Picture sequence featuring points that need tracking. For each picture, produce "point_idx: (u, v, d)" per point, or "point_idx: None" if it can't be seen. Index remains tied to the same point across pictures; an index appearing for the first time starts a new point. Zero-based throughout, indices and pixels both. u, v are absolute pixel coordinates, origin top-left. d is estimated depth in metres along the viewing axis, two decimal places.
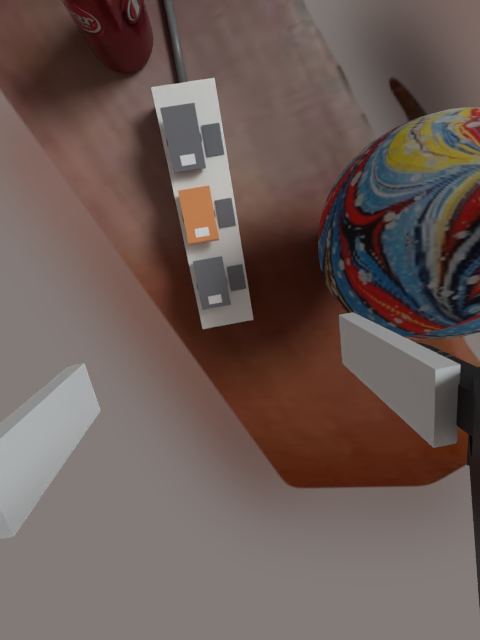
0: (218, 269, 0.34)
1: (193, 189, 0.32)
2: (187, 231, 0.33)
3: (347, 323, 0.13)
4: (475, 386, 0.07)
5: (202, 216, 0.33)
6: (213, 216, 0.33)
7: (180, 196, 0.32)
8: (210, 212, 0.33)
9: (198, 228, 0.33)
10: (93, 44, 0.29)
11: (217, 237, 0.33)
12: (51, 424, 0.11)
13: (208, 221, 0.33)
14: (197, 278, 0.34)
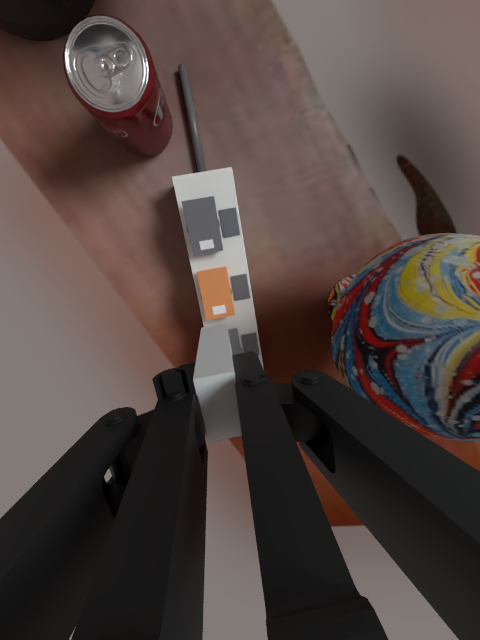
0: (233, 341, 0.36)
1: (211, 270, 0.34)
2: (205, 309, 0.34)
3: (214, 333, 0.15)
4: (237, 395, 0.09)
5: (219, 295, 0.34)
6: (230, 294, 0.34)
7: (199, 277, 0.34)
8: (227, 291, 0.34)
9: (215, 306, 0.34)
10: (118, 141, 0.31)
11: (233, 314, 0.35)
12: None
13: (225, 299, 0.34)
14: None
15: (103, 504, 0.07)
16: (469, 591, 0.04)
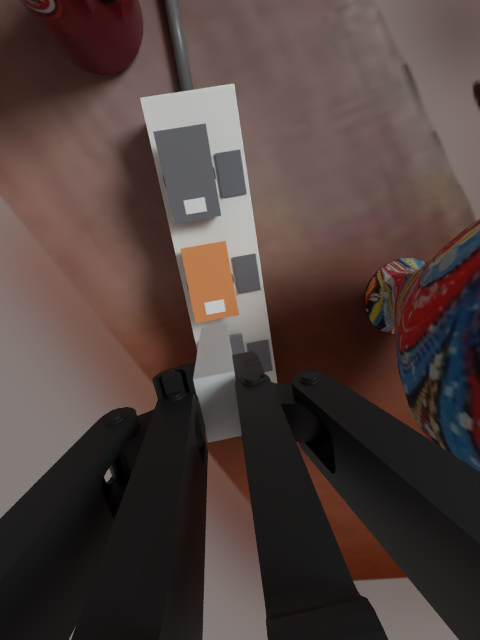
0: (236, 353, 0.25)
1: (202, 246, 0.22)
2: (194, 306, 0.23)
3: (214, 333, 0.15)
4: (237, 395, 0.09)
5: (215, 284, 0.23)
6: (231, 284, 0.23)
7: (184, 257, 0.22)
8: (227, 279, 0.23)
9: (209, 301, 0.23)
10: (49, 32, 0.19)
11: (236, 313, 0.23)
12: None
13: (224, 291, 0.23)
14: None
15: (103, 505, 0.07)
16: (469, 591, 0.04)
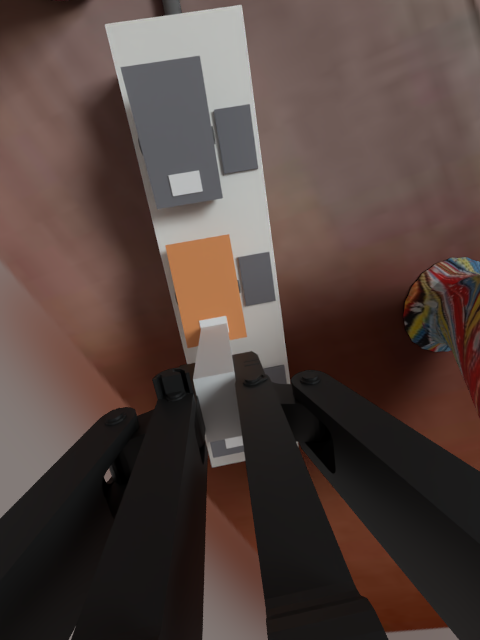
0: None
1: (196, 242, 0.16)
2: (185, 325, 0.16)
3: (214, 333, 0.15)
4: (237, 395, 0.09)
5: (215, 295, 0.16)
6: (237, 295, 0.16)
7: (170, 257, 0.16)
8: (231, 287, 0.16)
9: (207, 319, 0.16)
10: None
11: (244, 335, 0.17)
12: None
13: (226, 304, 0.16)
14: None
15: (103, 505, 0.07)
16: (469, 591, 0.04)
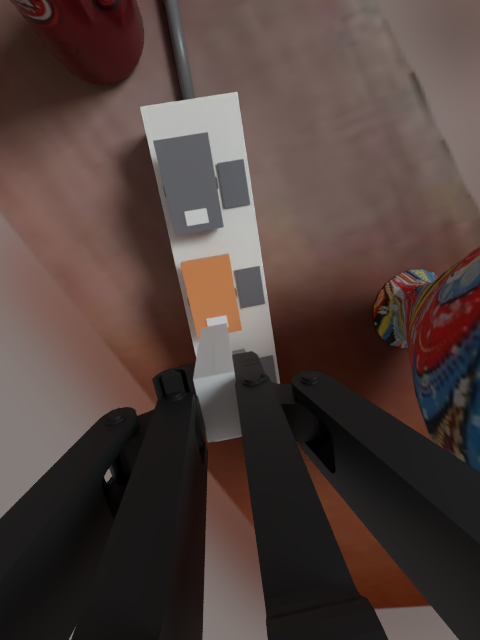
0: None
1: (204, 261, 0.21)
2: (196, 322, 0.22)
3: (214, 333, 0.15)
4: (237, 395, 0.09)
5: (218, 300, 0.22)
6: (234, 300, 0.22)
7: (184, 272, 0.21)
8: (230, 294, 0.22)
9: (212, 317, 0.22)
10: (47, 40, 0.18)
11: (239, 329, 0.22)
12: None
13: (226, 307, 0.22)
14: None
15: (102, 505, 0.07)
16: (469, 591, 0.04)
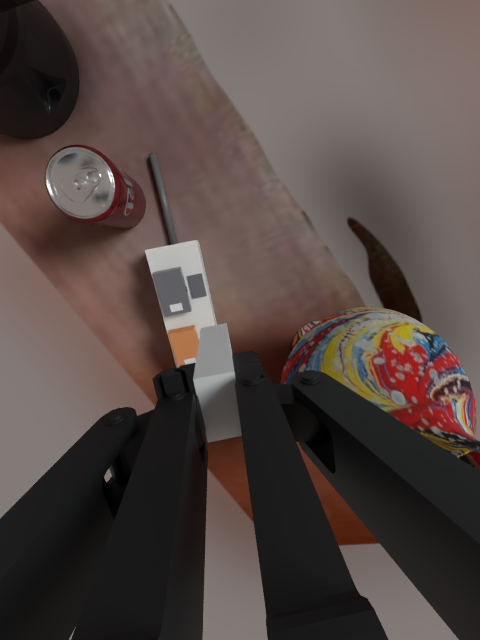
0: None
1: (181, 332, 0.38)
2: (178, 362, 0.40)
3: (214, 333, 0.15)
4: (237, 395, 0.09)
5: (190, 350, 0.39)
6: None
7: (170, 338, 0.38)
8: (196, 347, 0.39)
9: (187, 359, 0.40)
10: None
11: None
12: None
13: (195, 353, 0.39)
14: None
15: (103, 505, 0.07)
16: (469, 591, 0.04)
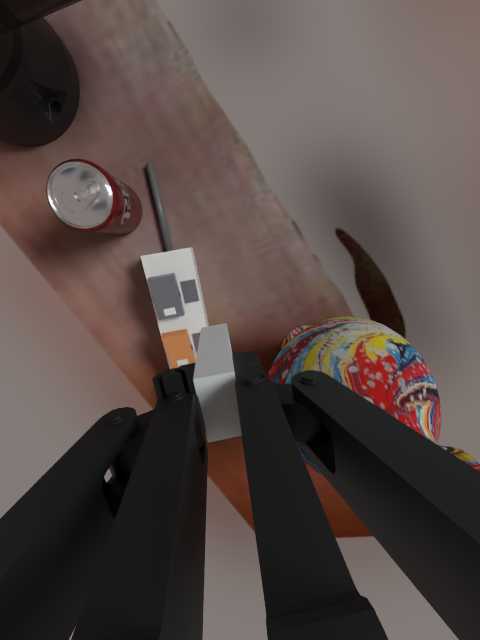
0: None
1: (173, 336, 0.39)
2: (171, 362, 0.42)
3: (214, 333, 0.15)
4: (237, 395, 0.09)
5: (182, 352, 0.41)
6: (191, 352, 0.41)
7: (163, 341, 0.40)
8: (188, 350, 0.41)
9: (179, 360, 0.42)
10: None
11: None
12: None
13: (187, 355, 0.42)
14: None
15: (103, 505, 0.07)
16: (469, 591, 0.04)
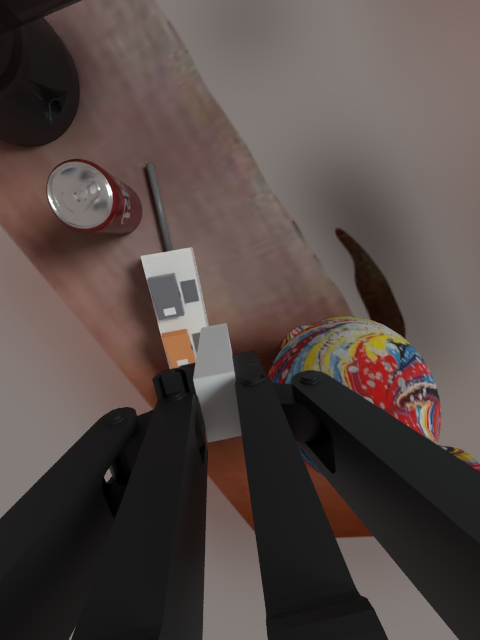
0: None
1: (173, 336, 0.39)
2: (171, 362, 0.42)
3: (214, 333, 0.15)
4: (237, 395, 0.09)
5: (182, 352, 0.41)
6: (191, 352, 0.41)
7: (163, 341, 0.40)
8: (188, 350, 0.41)
9: (179, 360, 0.42)
10: None
11: None
12: None
13: (187, 355, 0.42)
14: None
15: (102, 505, 0.07)
16: (469, 591, 0.04)
